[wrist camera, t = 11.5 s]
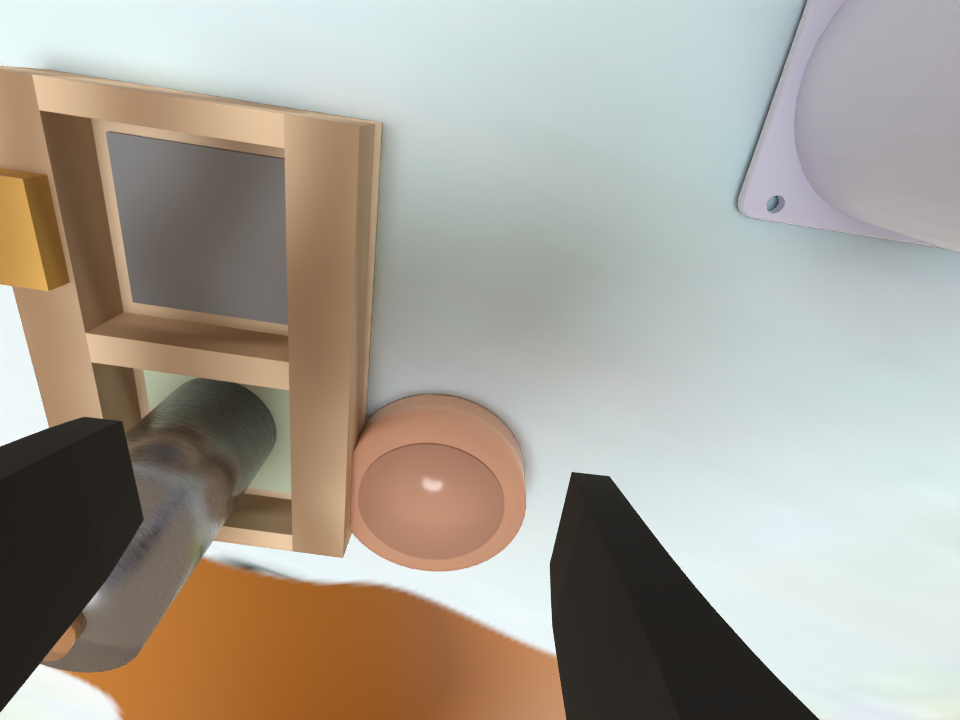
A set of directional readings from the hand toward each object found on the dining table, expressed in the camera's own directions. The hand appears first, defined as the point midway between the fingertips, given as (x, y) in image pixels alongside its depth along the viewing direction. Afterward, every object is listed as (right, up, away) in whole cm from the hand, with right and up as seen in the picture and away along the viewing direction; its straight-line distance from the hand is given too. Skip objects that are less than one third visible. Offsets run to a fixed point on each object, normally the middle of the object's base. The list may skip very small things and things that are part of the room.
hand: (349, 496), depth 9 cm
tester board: (-7, +3, +10) cm, 13 cm away
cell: (-7, 0, +11) cm, 13 cm away
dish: (0, -2, +13) cm, 13 cm away
